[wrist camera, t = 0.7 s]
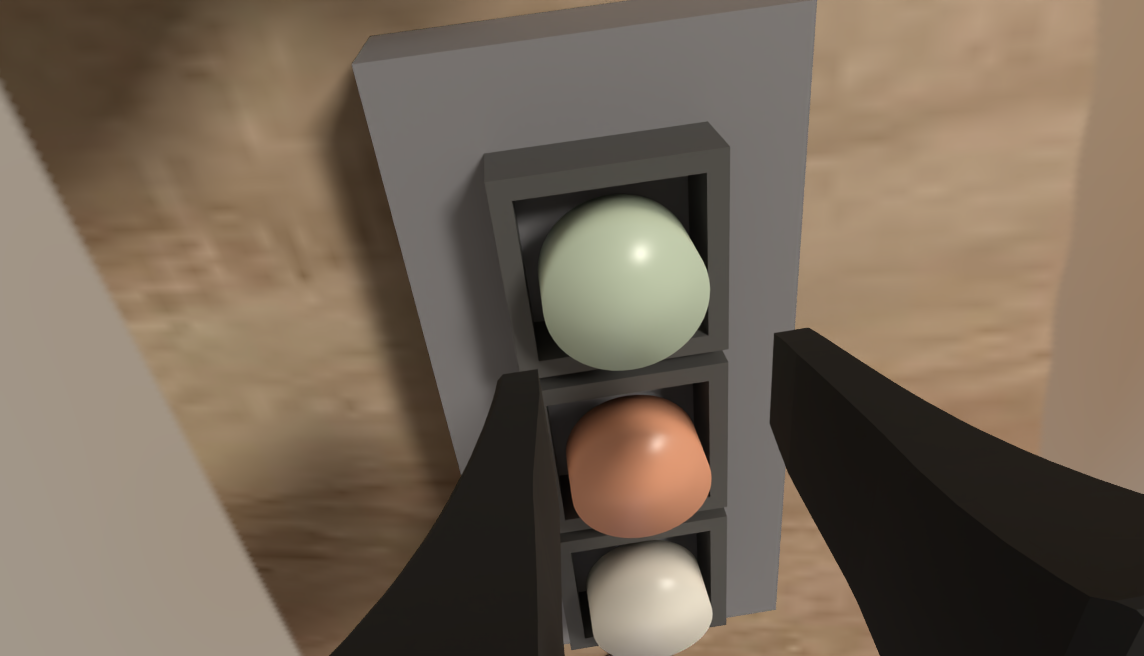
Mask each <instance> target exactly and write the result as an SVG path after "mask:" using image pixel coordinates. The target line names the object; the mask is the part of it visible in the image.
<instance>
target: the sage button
mask: <svg viewBox="0 0 1144 656" xmlns="http://www.w3.org/2000/svg"><path fill="white" fill-rule="evenodd" d="M538 279H539V286H540V293H541V301H542V308H543V315H544V319H545V323H546V326H547V328H548V331H549V333H550V335H551V336H552V338H553V340H554V341H555V342H556V344H557V345H558V346H559V347H560V348H561V349H562V350H563V351H564V352H565V353H566V354H568V355H569V356H570V357H572V358H573V359H575V360H577V361H579V362H581V363H583V364H585V365H588V366H591V367H594V368H598V369H603V370H611V371H624V370H633V369H638V368H643V367H646V366H649V365H652V364H655V363H657V362H659V361H661V360H663V359H665V358H667V357H669V356H670V355H672V354H673V353H675V352H676V351H677V350H679V349H680V348H681V347H682V346H683V345H685V344H686V343H687V342H688V341H689V339H690V338H691V337H692V336H693V335H694V334H695V332H696V331H697V329H698V328H699V326H700V324H701V323H702V321H703V319H704V316H705V314H706V311H707V308H708V303H709V298H710V283H709V277H708V273H707V269H706V267H705V265H704V262H703V260H702V259H701V257H700V255H699V253H698V251H697V250H696V248H695V246H694V244H693V243H692V241H691V239H690V237H689V235H688V234H687V232H686V230H685V228H684V227H683V225H682V224H681V222H680V221H679V220H678V218H677V217H676V216H675V215H674V214H673V213H672V212H671V211H670V210H669V209H667V208H666V207H664V206H663V205H661V204H660V203H658V202H656V201H653V200H651V199H649V198H645V197H642V196H638V195H632V194H611V195H605V196H600V197H597V198H594V199H591V200H588V201H586V202H584V203H582V204H580V205H578V206H576V207H575V208H573V209H571V210H570V211H569V212H567V213H566V214H565V215H564V216H563V217H561V218H560V219H559V221H558V222H557V223H556V224H555V225H554V226H553V228H552V229H551V230H550V232H549V233H548V235H547V237H546V239H545V241H544V243H543V245H542V248H541V251H540V255H539V260H538Z"/></svg>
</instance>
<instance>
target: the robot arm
mask: <svg viewBox="0 0 1144 656" xmlns="http://www.w3.org/2000/svg"><path fill="white" fill-rule="evenodd" d="M769 424H770V426H771V429H772V432H773V435H774V437H775V440H776V443H777V445H778V448H779V451H780V453H781V456H782V458H783V461H784V464H785V466H786V469H787V471H788V473H789V475H790V477H791V479H792V481H793V483H794V485H795V487H796V489H797V490H798V492H799V494H800V496H801V498H802V500H803V502H804V503H805V505H806V507H807V509H808V511H809V513H810V514H811V516H812V518H813V520H814V522H815V524H816V525H817V527H818V529H819V531H820V533H821V534H822V536H823V538H824V540H825V542H826V544H827V545H828V547H829V549H830V551H831V553H832V554H833V556H834V558H835V560H836V562H837V564H838V565H839V567H840V569H841V571H842V573H843V575H844V576H845V578H846V580H847V582H848V584H849V586H850V588H851V590H852V592H853V594H854V596H855V598H856V600H857V602H858V605H859V607H860V609H861V612H862V614H863V617H864V619H865V621H866V624H867V626H868V628H869V631H870V633H871V636H872V638H873V640H874V643H875V645H876V647H877V650H878V652H879V655H880V656H1144V494H1141V493H1138V492H1135V491H1132V490H1129V489H1126V488H1123V487H1120V486H1117V485H1114V484H1111V483H1108V482H1105V481H1102V480H1099V479H1096V478H1093V477H1091V476H1088V475H1086V474H1083V473H1080V472H1078V471H1075V470H1072V469H1070V468H1067V467H1064V466H1062V465H1059V464H1056V463H1054V462H1051V461H1049V460H1046V459H1044V458H1042V457H1039V456H1037V455H1034V454H1032V453H1030V452H1027V451H1025V450H1022V449H1020V448H1018V447H1016V446H1014V445H1012V444H1009V443H1007V442H1005V441H1003V440H1001V439H999V438H996V437H994V436H992V435H990V434H988V433H985V432H983V431H981V430H979V429H977V428H975V427H973V426H971V425H969V424H967V423H965V422H963V421H961V420H959V419H958V418H956V417H954V416H952V415H950V414H948V413H947V412H945V411H943V410H941V409H939V408H937V407H936V406H934V405H932V404H930V403H928V402H926V401H925V400H923V399H921V398H920V397H918V396H916V395H914V394H913V393H911V392H909V391H908V390H906V389H904V388H903V387H901V386H899V385H898V384H896V383H894V382H893V381H891V380H890V379H888V378H886V377H885V376H883V375H882V374H880V373H878V372H877V371H875V370H874V369H872V368H871V367H869V366H867V365H866V364H864V363H863V362H861V361H860V360H858V359H857V358H855V357H854V356H852V355H851V354H849V353H848V352H846V351H845V350H843V349H841V348H840V347H838V346H837V345H835V344H834V343H832V342H831V341H829V340H828V339H826V338H825V337H823V336H821V335H820V334H818V333H817V332H815V331H813V330H812V329H810V328H803V329H796V330H790V331H783V332H777V333H774V341H773V362H772V382H771V402H770V423H769ZM329 656H565V655H564V642H563V626H562V586H561V544H560V508H559V501H558V493H557V485H556V478H555V470H554V463H553V456H552V450H551V444H550V438H549V432H548V426H547V420H546V414H545V408H544V403H543V397H542V391H541V385H540V379H539V373H538V369H534V370H528V371H521V372H514V373H508V374H503V375H502V376H501V377H500V378H499V379H498V380H497V385H496V389H495V393H494V397H493V400H492V403H491V406H490V409H489V412H488V415H487V418H486V421H485V423H484V426H483V429H482V431H481V433H480V436H479V438H478V440H477V443H476V445H475V447H474V450H473V452H472V454H471V457H470V459H469V461H468V463H467V465H466V467H465V469H464V471H463V473H462V475H461V477H460V479H459V481H458V483H457V485H456V487H455V489H454V491H453V493H452V494H451V496H450V498H449V500H448V502H447V503H446V505H445V507H444V509H443V510H442V512H441V514H440V515H439V517H438V519H437V520H436V522H435V524H434V525H433V527H432V528H431V530H430V531H429V533H428V535H427V536H426V538H425V539H424V541H423V542H422V544H421V545H420V547H419V548H418V549H417V551H416V552H415V554H414V555H413V556H412V558H411V559H410V561H409V562H408V563H407V565H406V566H405V568H404V569H403V570H402V572H401V573H400V575H399V576H398V577H397V578H396V580H395V581H394V582H393V584H392V585H391V586H390V588H389V589H388V590H387V591H386V593H385V594H384V595H383V596H382V597H381V598H380V600H379V601H378V602H377V603H376V604H375V605H374V607H373V608H372V609H371V610H370V611H369V612H368V614H367V615H366V616H365V617H364V618H363V619H362V620H361V622H360V623H359V624H358V625H357V626H356V627H355V629H354V630H353V631H352V632H351V633H350V634H349V635H348V637H347V638H346V639H345V640H344V641H343V642H342V643H341V644H340V645H339V646H338V647H337V648H336V649H335V650H334V651H333V652H332V653H331V654H330V655H329Z"/></svg>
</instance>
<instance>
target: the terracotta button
mask: <svg viewBox="0 0 1144 656" xmlns="http://www.w3.org/2000/svg"><path fill="white" fill-rule="evenodd" d="M566 460H567V467H568V474H569V480H570V487H571V494H572V501H573V505H574V508H575V510H576V512H577V514H578V515H579V517H580V518H581V519H582V520H583V521H584V522H585V523H586V524H587V525H588V526H590V527H591V528H593V529H595V530H596V531H599V532H601V533H603V534H606V535H610V536H614V537H620V538H641V537H648V536H653V535H657V534H660V533H663V532H666V531H668V530H671V529H673V528H675V527H677V526H679V525H680V524H682V523H683V522H685V521H686V520H688V519H689V518H690V517H692V516H693V515H694V514H695V513H696V512H697V511H698V510H699V508H700V507H701V506H702V505H703V503H704V501H705V500H706V498H707V496H708V493H709V491H710V487H711V479H712V478H711V470H710V467H709V464H708V461H707V459H706V456H705V453H704V451H703V448H702V445H701V443H700V440H699V437H698V435H697V432H696V430H695V427H694V424H693V422H692V420H691V418H690V417H689V416H688V414H687V413H686V412H685V411H684V410H683V409H682V408H681V407H679V406H678V405H677V404H675V403H673V402H671V401H669V400H667V399H664V398H661V397H657V396H652V395H627V396H622V397H617V398H614V399H611V400H608V401H606V402H604V403H601V404H600V405H598V406H596V407H594V408H593V409H591V410H590V411H589V412H587V413H586V414H585V415H584V416H583V417H582V418H580V420H579V421H578V422H577V423H576V424H575V426H574V427H573V429H572V430H571V433H570V435H569V437H568V440H567V444H566Z"/></svg>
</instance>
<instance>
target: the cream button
mask: <svg viewBox="0 0 1144 656" xmlns="http://www.w3.org/2000/svg"><path fill="white" fill-rule="evenodd" d="M586 588H587V595H588V602H589V609H590V616H591V623H592V629H593V635H594V638H595V640H596V642H597V644H598V645H599V646H600V647H601V648H602V649H603V650H604V651H606V652H607V653H609V654H611V655H613V656H671V655H673V654H676V653H679V652H681V651H683V650H685V649H687V648H688V647H690V646H691V645H693V644H694V643H696V642H697V641H698V640H699V639H700V638H701V637H702V636H703V635H704V634H705V633H706V631H707V630H708V628H709V626H710V624H711V621H712V615H713V613H712V607H711V604H710V601H709V598H708V594H707V591H706V588H705V585H704V581H703V578H702V575H701V572H700V569H699V565H698V562H697V560H696V558H695V557H694V555H693V554H692V553H691V552H690V551H689V550H687V549H686V548H684V547H683V546H681V545H679V544H676V543H673V542H670V541H664V540H649V541H643V542H636V543H630V544H625V545H622V546H620V547H617V548H615V549H613V550H611V551H610V552H608V553H607V554H605V555H604V556H602V557H601V558H600V559H599V560H598V561H597V562H596V563H595V564H594V566H593V567H592V568H591V570H590V572H589V574H588V577H587V582H586Z"/></svg>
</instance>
